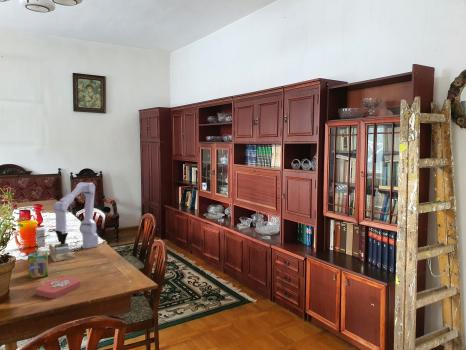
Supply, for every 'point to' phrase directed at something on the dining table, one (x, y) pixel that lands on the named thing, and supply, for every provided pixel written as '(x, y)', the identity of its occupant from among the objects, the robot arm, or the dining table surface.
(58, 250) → the slate boxed book
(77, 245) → the dining table surface
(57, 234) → the robot arm
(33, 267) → the chalk box
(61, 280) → the pink flat block
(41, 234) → the ink box
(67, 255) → the birch shelf bay
